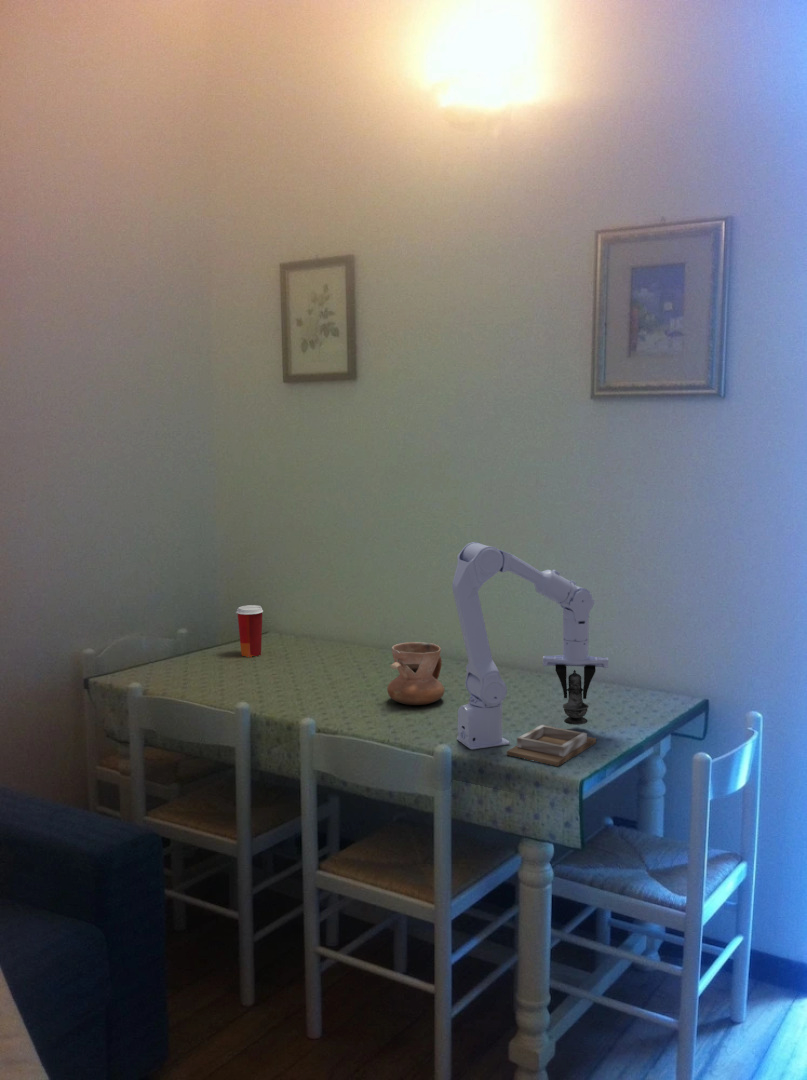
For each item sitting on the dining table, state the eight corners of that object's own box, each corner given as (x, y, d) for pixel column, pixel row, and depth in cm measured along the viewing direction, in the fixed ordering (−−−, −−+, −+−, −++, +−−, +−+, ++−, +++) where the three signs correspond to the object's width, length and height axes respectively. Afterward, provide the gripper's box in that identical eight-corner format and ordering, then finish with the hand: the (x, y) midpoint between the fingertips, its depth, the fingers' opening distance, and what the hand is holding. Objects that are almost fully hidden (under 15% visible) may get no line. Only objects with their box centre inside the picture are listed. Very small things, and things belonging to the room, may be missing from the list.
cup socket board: (557, 766, 197) (558, 752, 197) (506, 755, 204) (506, 741, 204) (595, 742, 211) (596, 729, 211) (547, 733, 219) (547, 720, 218)
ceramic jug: (413, 714, 234) (414, 657, 233) (372, 702, 245) (372, 647, 243) (461, 700, 247) (462, 645, 246) (420, 689, 257) (421, 637, 256)
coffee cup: (265, 651, 302) (264, 604, 301) (263, 657, 294) (262, 609, 293) (238, 652, 302) (237, 605, 300) (236, 658, 294) (234, 610, 292)
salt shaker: (560, 718, 223) (559, 667, 221) (585, 716, 223) (584, 665, 221) (565, 725, 217) (564, 673, 215) (591, 724, 217) (590, 672, 216)
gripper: (607, 635, 220) (606, 693, 222) (543, 634, 223) (543, 691, 224) (609, 642, 213) (608, 702, 215) (542, 640, 216) (542, 700, 217)
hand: (575, 697), depth 219 cm, fingers closed on salt shaker, 4 cm apart
